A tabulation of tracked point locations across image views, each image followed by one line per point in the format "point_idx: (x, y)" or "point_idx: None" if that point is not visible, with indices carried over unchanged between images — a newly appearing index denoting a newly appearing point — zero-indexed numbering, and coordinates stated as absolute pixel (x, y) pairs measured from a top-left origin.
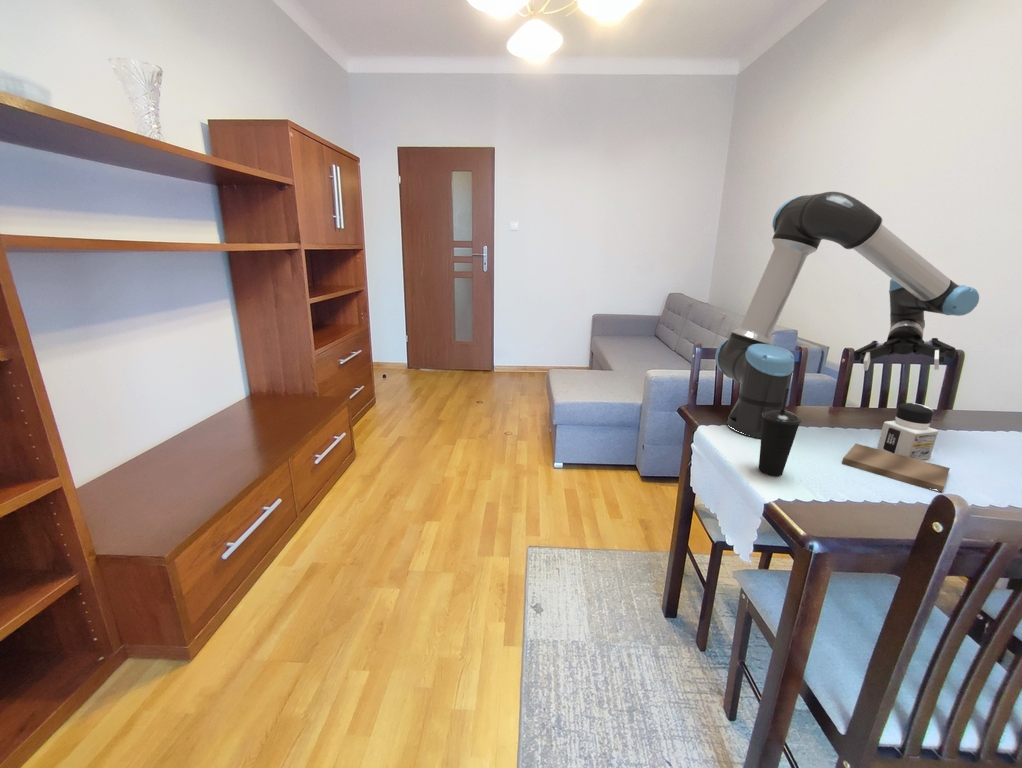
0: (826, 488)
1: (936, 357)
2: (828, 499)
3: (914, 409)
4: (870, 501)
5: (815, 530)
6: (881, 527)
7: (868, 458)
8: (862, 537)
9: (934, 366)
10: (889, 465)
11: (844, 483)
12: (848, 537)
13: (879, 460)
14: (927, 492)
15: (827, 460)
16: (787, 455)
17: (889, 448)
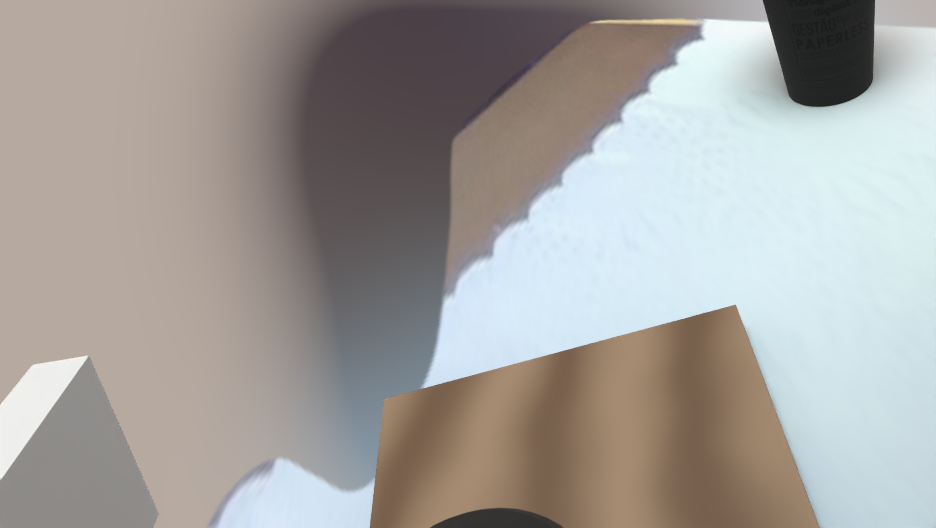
0: (659, 149)
1: (20, 418)
2: (625, 118)
3: (468, 517)
4: (548, 191)
5: (583, 38)
6: (496, 132)
7: (663, 397)
8: (514, 85)
9: (137, 473)
10: (571, 406)
11: (642, 209)
12: (532, 67)
13: (621, 422)
14: (434, 379)
15: (796, 303)
16: (768, 20)
17: None
